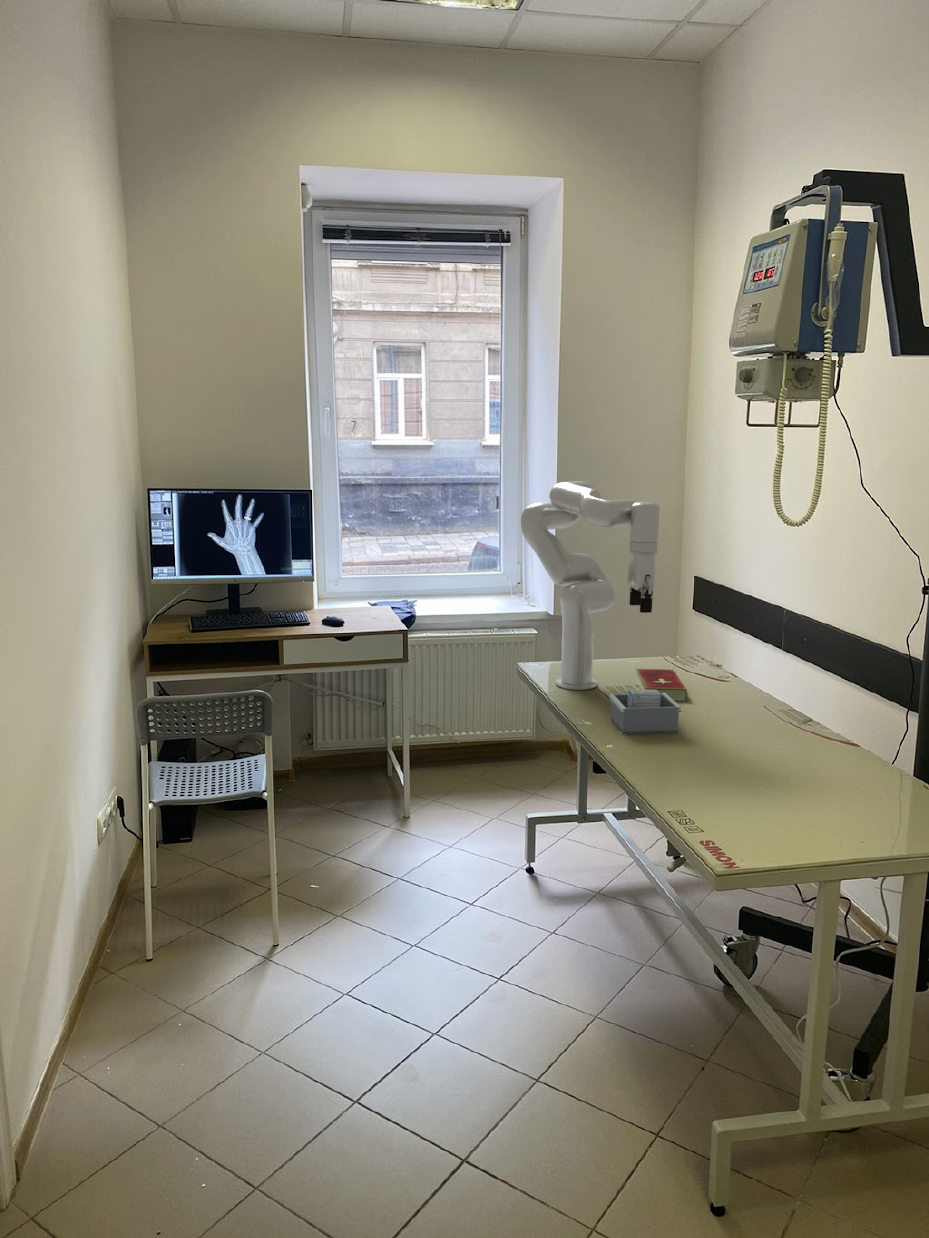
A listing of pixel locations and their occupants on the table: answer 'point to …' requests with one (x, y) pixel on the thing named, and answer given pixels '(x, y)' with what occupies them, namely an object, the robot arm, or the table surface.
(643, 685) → the hardcover book
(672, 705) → the bin
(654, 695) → the medicine box
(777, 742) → the table surface
